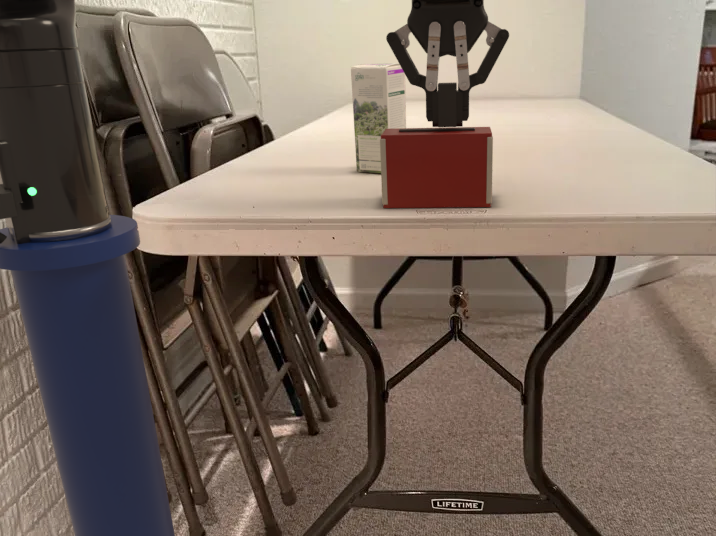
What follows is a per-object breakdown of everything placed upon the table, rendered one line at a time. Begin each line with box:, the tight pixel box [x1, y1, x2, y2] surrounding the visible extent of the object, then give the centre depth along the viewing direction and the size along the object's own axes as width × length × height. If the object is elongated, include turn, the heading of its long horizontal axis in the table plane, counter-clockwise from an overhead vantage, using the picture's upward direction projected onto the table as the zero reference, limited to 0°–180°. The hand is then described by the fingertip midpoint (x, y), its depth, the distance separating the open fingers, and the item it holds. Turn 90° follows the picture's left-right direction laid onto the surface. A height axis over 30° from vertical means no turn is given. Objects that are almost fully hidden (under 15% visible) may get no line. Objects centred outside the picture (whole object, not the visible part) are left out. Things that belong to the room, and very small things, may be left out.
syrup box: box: [350, 63, 407, 174], centre depth 101 cm, size 6×6×14 cm
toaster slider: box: [437, 82, 458, 128], centre depth 79 cm, size 2×2×4 cm
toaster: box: [380, 126, 494, 209], centre depth 81 cm, size 12×6×8 cm, turn 86°
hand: (447, 125), depth 80 cm, fingers closed on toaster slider, 2 cm apart
